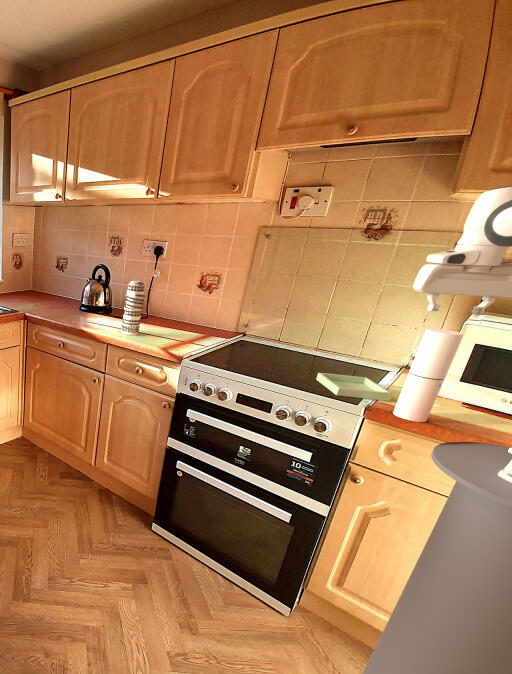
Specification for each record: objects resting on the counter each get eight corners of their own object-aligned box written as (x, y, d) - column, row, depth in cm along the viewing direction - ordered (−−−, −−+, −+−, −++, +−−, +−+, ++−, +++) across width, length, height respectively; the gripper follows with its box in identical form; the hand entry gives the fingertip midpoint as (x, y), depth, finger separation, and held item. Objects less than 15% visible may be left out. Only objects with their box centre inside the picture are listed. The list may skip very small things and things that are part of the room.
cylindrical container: (386, 411, 124) (418, 328, 115) (407, 411, 125) (441, 328, 116) (411, 422, 117) (447, 334, 108) (433, 421, 118) (471, 334, 109)
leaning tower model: (140, 332, 210) (148, 280, 201) (138, 336, 202) (146, 282, 193) (121, 329, 213) (128, 279, 204) (118, 333, 205) (125, 281, 196)
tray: (390, 401, 132) (393, 393, 131) (336, 395, 135) (339, 387, 134) (363, 384, 146) (366, 377, 145) (316, 379, 149) (318, 372, 148)
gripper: (518, 258, 106) (494, 313, 111) (420, 255, 111) (401, 307, 116) (541, 260, 100) (514, 318, 105) (436, 256, 105) (415, 311, 110)
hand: (454, 312), depth 110 cm, fingers open, 8 cm apart
